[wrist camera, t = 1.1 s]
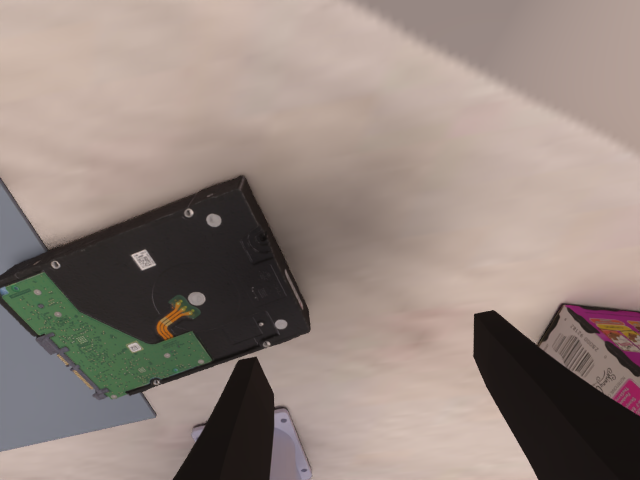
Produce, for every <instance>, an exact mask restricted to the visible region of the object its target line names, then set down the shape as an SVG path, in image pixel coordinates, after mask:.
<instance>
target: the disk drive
mask: <svg viewBox="0 0 640 480" xmlns="http://www.w3.org/2000/svg"><path fill="white" fill-rule="evenodd" d="M0 305H1V306H3V308H5V309H6V310H7V311H8V313H9V314H11V315H12V317H13V318H15V319H16V321H18V322H19V324H20V325H22V327H24V328H25V330H26V331H28V332H29V333H30V334H31V335H32V336H33V337H36V339H35V340H36V342H37V343H38V344H39V345H40V346H41V347H43V348H44V350H46V351H47V352H48V353H49V354H50V355H52V354H55V353H58V354H57V357H58V358H59V359H60V360H61V361H62V362H64V363H65V365H66V367H69V366H72V368H71V369H70V371H72V372H73V373H74V374H75V375H77V376H78V377H79V378H80V379H81V380H82V381H83V382H84V383H85V384H86V385H87V386H88V387H89V388H90V389H95V394H93V395H92V396H93V397H94V398H96V399H97V400H101V399H104V398H106V397H109V398H110V399H111V400H112V399H117V398H119V397H122V396H124V395H128V396H131V395H134V394H138V393H140V392H143V391H146V390H148V389H150V388H152V387H155V386H158V385H161V384H164V383H167V382H170V381H172V380H176V379H179V378H182V377H184V376H187V375H190V374H193V373H195V372H198V371H202V370H204V369H208V368H210V367H213V366H215V365H218V364H222V363H225V362H228V361H230V360H233V359H236V358H238V357H242V356H245V355H247V354H250V353H253V352H256V351H259V350H262V349H264V348H267V347H271V346H273V345H277V344H281V343H283V342H286V341H289V340H291V339H293V338H296V337H298V336H300V335H303V334H306V333H309V332H310V330H311V328H310V319H309V311H308V307H307V305H306V303H305V301H304V299H303V297H302V295H301V294H300V291H299V289H298V286H297V284H296V282H295V280H294V278H293V276H292V274H291V272H290V270H289V267H288V265H287V264H286V261H285V259H284V257H283V255H282V253H281V250H280V249H279V247H278V245H277V242H276V240H275V238H274V237H273V234H272V232H271V230H270V228H269V226H268V223H267V221H266V219H265V217H264V215H263V213H262V211H261V209H260V207H259V205H258V204H257V202H256V200H255V198H254V196H253V194H252V191H251V189H250V187H249V185H248V183H247V180H246V178H245V177H243V176H240V177H238V178H237V179H235V180H234V179H233V180H231V181H227V182H224V183H222V184H218V185H215V186H212V187H210V188H207V189H204V190H202V191H200V192H198V193H196V194H194V195H191V196H189V197H186V198H184V199H181V200H179V201H176V202H173V203H170V204H168V205H166V206H163V207H161V208H158V209H155V210H153V211H151V212H148V213H146V214H143V215H140V216H138V217H136V218H133V219H131V220H128V221H126V222H124V223H121V224H118V225H116V226H113V227H109V228H108V229H105V230H102V231H99V232H97V233H94V234H92V235H89V236H87V237H84V238H81V239H79V240H77V241H74V242H72V243H69V244H66V245H64V246H61V247H57V248H55V249H51V250H49V251H47V252H45V253H42V254H40V255H39V256H36V257H34V258H31V259H28V260H26V261H23V262H21V263H19V264H15V265H14V266H13V267H11V268H10V269H8V270H7V271H6V272H4V273H3V274H2V275H0Z"/></svg>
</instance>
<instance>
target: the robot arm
mask: <svg viewBox="0 0 640 480" xmlns="http://www.w3.org/2000/svg"><path fill="white" fill-rule="evenodd" d="M473 357H474V359H475V361H476V364H477V366H478V368H479V371H480V373H481V375H482V378H483V380H484V382H485V384H486V387H487V389H488V390H489V392H490V394H491V396H492V398H493V399H494V401H495V403H496V405H497V406H498V408H499V410H500V412H501V413H502V415H503V417H504V419H505V420H506V422H507V424H508V426H509V427H510V429H511V431H512V433H513V434H514V436H515V438H516V440H517V441H518V443H519V445H520V446H521V448H522V450H523V452H524V453H525V455H526V457H527V459H528V461H529V463H530V464H531V466H532V468H533V470H534V472H535V474H536V476H537V478H538V480H640V416H639V415H637V414H636V413H634V412H632V411H631V410H629V409H628V408H626V407H624V406H623V405H621V404H620V403H618V402H616V401H615V400H613V399H612V398H610V397H609V396H607V395H605V394H604V393H602V392H601V391H599V390H598V389H596V388H595V387H593V386H592V385H590V384H589V383H588V382H586V381H585V380H583V379H582V378H580V377H579V376H577V375H576V374H575V373H573V372H572V371H570V370H569V369H568V368H566V367H565V366H564V365H562V364H561V363H560V362H558V361H557V360H556V359H554V358H553V357H552V356H550V355H549V354H548V353H546V352H545V351H544V350H542V349H541V348H540V347H538V346H537V345H536V344H535V343H533V342H532V341H531V340H530V339H528V338H527V337H526V336H525V335H523V334H522V333H521V332H520V331H519V330H517V329H516V328H515V327H514V326H513V325H511V324H510V323H509V322H508V321H507V320H505V319H504V318H503V317H502V316H501V315H499V314H498V313H497V312H495V311H494V310H492V311H487V312H482V313H477V314H474V355H473ZM191 436H192V438H193V439H194V441H195V444H194V446H193V448H192V449H191V451H190V453H189V455H188V456H187V458H186V459H185V461H184V463H183V464H182V466H181V467H180V469H179V471H178V472H177V474H176V475H175V477H174V478H173V480H307V479H310V478H311V477H312V471H311V468H310V466H309V463H308V461H307V458H306V455H305V453H304V450H303V448H302V445H301V443H300V440H299V438H298V435H297V433H296V430H295V427H294V425H293V422H292V420H291V417H290V415H289V412H288V411H287V410H286V409H277V410H274V393H273V391H272V389H271V387H270V385H269V383H268V381H267V378H266V376H265V374H264V372H263V370H262V368H261V365H260V363H259V361H258V359H257V357H252V358H247V359H242V360H239V361H238V362H237V364H236V366H235V368H234V370H233V372H232V374H231V376H230V378H229V380H228V382H227V384H226V387H225V389H224V391H223V393H222V395H221V397H220V399H219V401H218V403H217V404H216V406H215V408H214V410H213V412H212V414H211V416H210V418H209V419H208V421H207V423H206V425H204V426H199V427H195V428H193V429H192V432H191Z"/></svg>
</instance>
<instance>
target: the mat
mask: <svg viewBox="0 0 640 480" xmlns="http://www.w3.org/2000/svg"><path fill="white" fill-rule="evenodd" d="M47 251H48V250H47V248H46V247H45V245H44V244H43V242H42V241H41V239H40V238H39V236H38V235H37V233H36V232H35V230H34V229H33V227H32V226H31V224H30V223H29V221H28V220H27V218H26V217H25V215H24V214H23V212H22V211H21V209H20V208H19V206H18V204H17V203H16V201H15V200H14V198H13V197H12V195H11V194H10V192H9V191H8V189H7V188H6V186H5V185H4V183H3V182H2V180H1V179H0V275H2V274H3V273H4V272H6V271H7V270H8V269H10V268H11V267H13V266H14V265H15V264H19V263H21V262H23V261H26V260H28V259H31V258H34V257H36V256H39V255H40V254H42V253H45V252H47ZM35 339H36V337H33V336H32V335H31V334H30V333H29V332H28V331H26V330H25V328H24V327H22V325H20V324H19V322H18V321H16V319H15V318H13V317H12V315H11V314H9V313H8V311H7V310H6V309H5V308H3V306H1V305H0V452H1V451H6V450H11V449H15V448H20V447H24V446H29V445H33V444H38V443H42V442H47V441H51V440H56V439H60V438H65V437H70V436H74V435H79V434H83V433H88V432H92V431H97V430H101V429H106V428H110V427H115V426H119V425H124V424H129V423H133V422H138V421H142V420H147V419H151V418H156V414H155V412H154V411H153V409H152V407H151V406H150V404H149V403H148V401H147V400H146V398H145V397H144V395H143V394H142V392H140V393H138V394H134V395H131V396H128V395H124V396H122V397H119V398H117V399H112V400H111V399H110V398H109V397H106V398H104V399H101V400H97V399H96V398H94V397H93V396H92V395H93V394H95V389H90V388H89V387H88V386H87V385H86V384H85V383H84V382H83V381H82V380H81V379H80V378H79V377H78V376H77V375H75V374H74V373H73V372H72V371H70V369H71V368H72V366H69V367H66V365H65V363H64V362H62V361H61V360H60V359H59V358H58V357H57V354H58V353H55V354H52V355H50V354H49V353H48V352H47V351H46V350H44V348H43V347H41V346H40V345H39V344H38V343H37V342H36V340H35Z"/></svg>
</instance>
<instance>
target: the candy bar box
mask: <svg viewBox="0 0 640 480" xmlns="http://www.w3.org/2000/svg"><path fill="white" fill-rule="evenodd" d="M538 347H540V348H541V349H542V350H544V351H545V352H546V353H548V354H549V355H550V356H552V357H553V358H554V359H556V360H557V361H558V362H560V363H561V364H562V365H564V366H565V367H566V368H568V369H569V370H570V371H572V372H573V373H575V374H576V375H577V376H579V377H580V378H582V379H583V380H585V381H586V382H588V383H589V384H590V385H592V386H593V387H595V388H596V389H598V390H599V391H601V392H602V393H604V394H605V395H607V396H609V397H610V398H612V399H613V400H615V401H616V402H618V403H620V404H621V405H623V406H624V407H626V408H628V409H629V410H631V411H632V412H634V413H636V414H637V415H639V416H640V312H632V311H620V310H611V309H601V308H592V307H582V306H573V305H563V306H562V307H561V308H560V310H559V311H558V313H557V315H556V317H555V318H554V320H553V322H552V324H551V325H550V327H549V328H548V330H547V331H546V333H545V335H544V336H543V338H542V339H541V341H540V343H539V345H538Z"/></svg>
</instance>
